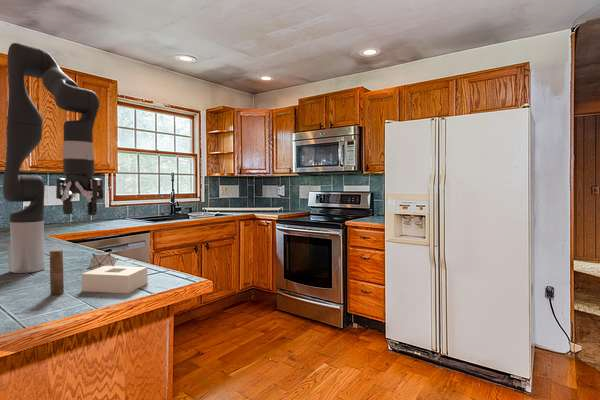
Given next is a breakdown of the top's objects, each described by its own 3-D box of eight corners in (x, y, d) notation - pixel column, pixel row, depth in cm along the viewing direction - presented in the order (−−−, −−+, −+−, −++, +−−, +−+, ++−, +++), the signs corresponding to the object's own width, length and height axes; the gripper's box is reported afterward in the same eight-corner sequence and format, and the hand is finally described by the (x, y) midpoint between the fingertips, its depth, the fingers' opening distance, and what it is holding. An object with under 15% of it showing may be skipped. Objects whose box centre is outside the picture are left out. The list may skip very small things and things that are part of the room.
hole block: (81, 291, 98) (81, 273, 98) (105, 281, 108) (104, 265, 108) (128, 293, 97) (128, 275, 96) (147, 283, 107) (147, 267, 106)
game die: (97, 288, 113) (75, 267, 108) (104, 273, 120) (83, 253, 116) (122, 275, 113) (101, 253, 108) (127, 260, 121) (107, 240, 116)
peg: (47, 295, 94) (46, 251, 94) (56, 291, 97) (55, 249, 97) (57, 295, 94) (56, 252, 93) (66, 292, 97) (65, 250, 96)
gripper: (46, 157, 97) (48, 215, 98) (87, 157, 93) (88, 216, 94) (70, 159, 104) (71, 212, 105) (109, 159, 100) (110, 214, 101)
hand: (79, 214), depth 99 cm, fingers open, 8 cm apart
